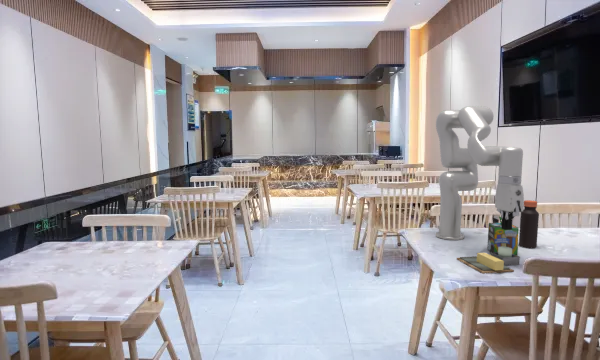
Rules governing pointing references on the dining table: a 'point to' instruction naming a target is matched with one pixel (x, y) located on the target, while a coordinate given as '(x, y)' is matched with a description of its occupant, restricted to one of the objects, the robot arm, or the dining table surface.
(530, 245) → the bottle
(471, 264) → the slate board
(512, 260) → the button housing
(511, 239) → the chalk box
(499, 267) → the chalk stick
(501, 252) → the button cap
